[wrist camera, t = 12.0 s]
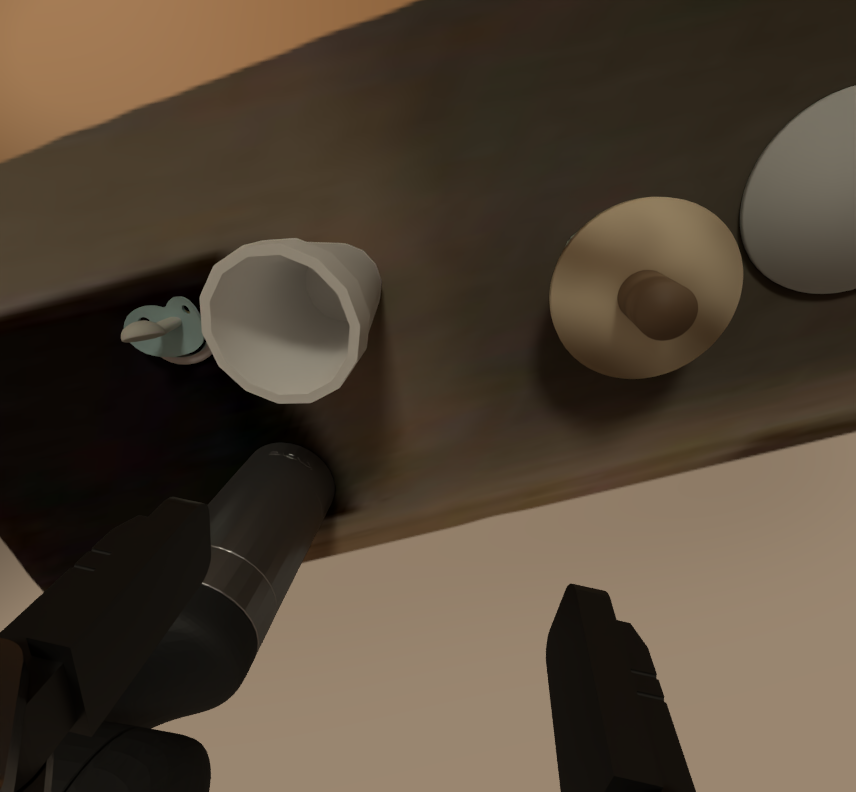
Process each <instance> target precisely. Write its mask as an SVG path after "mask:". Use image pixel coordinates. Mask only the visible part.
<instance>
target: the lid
mask: <svg viewBox="0 0 856 792" xmlns="http://www.w3.org/2000/svg"><path fill="white" fill-rule="evenodd" d="M742 284H743V265H742V258H741V254H740V251H739V248H738V245H737V243H736V241H735V239H734V237H733V235H732V233H731V232H730V230H729V229H728V228H727V226H726V225H725V224H724V223H723V222H722V221H721V220H720V219H719V218H718V217H717V216H716V215H714V214H713V213H712V212H710V211H709V210H707V209H706V208H704V207H702V206H700V205H697V204H695V203H692V202H689V201H686V200H682V199H676V198H670V197H645V198H638V199H634V200H630V201H626V202H623V203H620V204H618V205H615V206H613V207H611V208H609V209H607V210H605V211H603V212H601V213H600V214H598V215H597V216H595V217H594V218H592V219H591V220H590V221H588V222H587V223H586V224H585V225H584V226H583V227H582V228H581V229H579V231H578V232H577V233H576V234H575V235H574V236H573V237H572V238H571V240H570V241H569V242H568V244H567V245H566V247H565V248H564V250H563V251H562V253H561V255H560V257H559V259H558V261H557V263H556V266H555V269H554V271H553V275H552V279H551V283H550V291H549V307H550V313H551V318H552V321H553V324H554V327H555V330H556V332H557V334H558V336H559V338H560V340H561V342H562V343H563V345H564V346H565V348H566V349H567V350H568V351H569V352H570V354H571V355H572V356H573V357H574V358H575V359H577V360H578V361H579V362H580V363H582V364H583V365H585V366H586V367H588V368H589V369H591V370H594V371H596V372H598V373H600V374H604V375H607V376H610V377H616V378H622V379H642V378H649V377H655V376H659V375H662V374H666V373H669V372H671V371H674V370H676V369H678V368H680V367H682V366H684V365H686V364H688V363H690V362H691V361H693V360H694V359H696V358H697V357H698V356H700V355H701V354H702V353H704V352H705V351H706V350H707V349H708V348H709V347H710V346H711V345H712V344H713V343H714V342H715V341H716V340H717V339H718V338H719V337H720V335H721V334H722V333H723V331H724V330H725V329H726V327H727V326H728V324H729V322H730V320H731V319H732V317H733V315H734V312H735V310H736V308H737V305H738V302H739V299H740V295H741V291H742Z"/></svg>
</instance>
